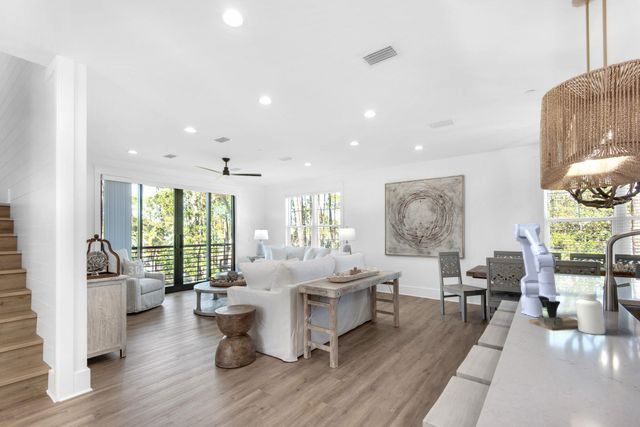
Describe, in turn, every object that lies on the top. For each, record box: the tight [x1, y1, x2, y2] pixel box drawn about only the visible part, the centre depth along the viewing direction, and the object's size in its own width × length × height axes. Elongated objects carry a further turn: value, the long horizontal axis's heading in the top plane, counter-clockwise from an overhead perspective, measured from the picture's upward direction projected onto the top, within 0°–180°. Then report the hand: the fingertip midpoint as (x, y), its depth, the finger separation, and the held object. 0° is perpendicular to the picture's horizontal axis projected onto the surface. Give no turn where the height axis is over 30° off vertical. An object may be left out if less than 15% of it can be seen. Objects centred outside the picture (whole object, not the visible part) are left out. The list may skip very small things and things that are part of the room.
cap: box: [542, 307, 558, 320], centre depth 130 cm, size 5×5×4 cm
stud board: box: [528, 315, 578, 331], centre depth 132 cm, size 12×18×4 cm, turn 96°
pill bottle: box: [575, 291, 606, 335], centre depth 122 cm, size 8×8×15 cm
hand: (550, 315), depth 130 cm, fingers open, 7 cm apart
